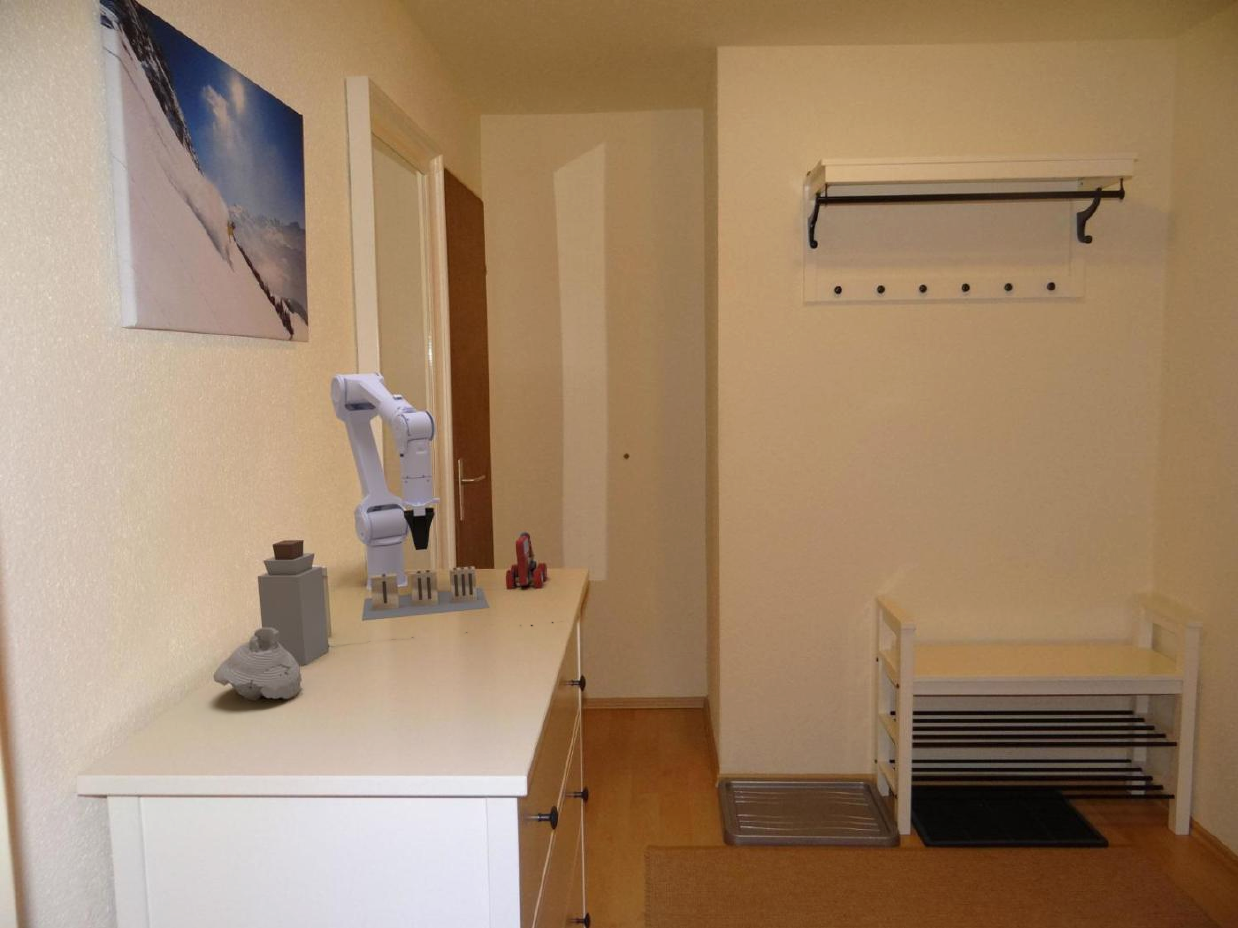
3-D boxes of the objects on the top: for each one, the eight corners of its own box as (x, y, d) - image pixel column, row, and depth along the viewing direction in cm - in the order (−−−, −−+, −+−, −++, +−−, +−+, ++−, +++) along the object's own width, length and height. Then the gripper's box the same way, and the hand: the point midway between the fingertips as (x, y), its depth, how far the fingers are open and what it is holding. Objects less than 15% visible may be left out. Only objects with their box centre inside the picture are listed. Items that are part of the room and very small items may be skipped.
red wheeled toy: (549, 578, 187) (546, 528, 186) (540, 593, 175) (537, 540, 174) (515, 579, 188) (512, 529, 186) (504, 594, 175) (501, 541, 174)
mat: (365, 601, 174) (364, 598, 174) (481, 590, 179) (481, 587, 179) (361, 623, 159) (361, 620, 159) (489, 610, 164) (489, 607, 164)
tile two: (412, 604, 168) (410, 571, 168) (437, 601, 169) (435, 568, 169) (412, 607, 166) (410, 573, 166) (438, 604, 167) (436, 571, 167)
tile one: (373, 607, 167) (370, 574, 166) (398, 605, 168) (396, 572, 167) (373, 610, 165) (370, 577, 164) (398, 608, 166) (396, 574, 165)
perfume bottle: (305, 665, 137) (296, 546, 135) (265, 664, 139) (255, 546, 137) (328, 651, 144) (319, 537, 142) (289, 650, 145) (280, 538, 143)
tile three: (451, 600, 170) (449, 567, 169) (475, 597, 171) (473, 565, 170) (452, 603, 168) (450, 570, 167) (476, 600, 169) (474, 567, 168)
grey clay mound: (321, 703, 128) (331, 635, 125) (249, 734, 118) (258, 660, 115) (265, 668, 134) (273, 602, 131) (192, 695, 124) (199, 624, 121)
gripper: (440, 479, 165) (444, 553, 167) (436, 471, 179) (441, 539, 181) (399, 482, 164) (405, 556, 165) (399, 473, 178) (404, 542, 179)
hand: (421, 548), depth 173 cm, fingers closed
